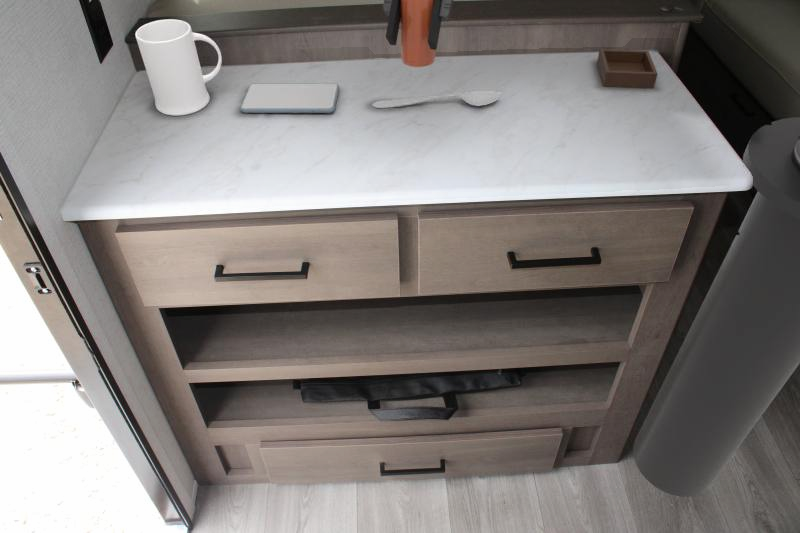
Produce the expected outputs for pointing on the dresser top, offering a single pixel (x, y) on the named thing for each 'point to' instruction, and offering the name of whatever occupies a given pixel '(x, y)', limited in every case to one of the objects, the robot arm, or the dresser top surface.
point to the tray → (626, 68)
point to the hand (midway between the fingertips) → (411, 42)
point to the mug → (175, 66)
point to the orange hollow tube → (416, 32)
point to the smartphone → (290, 98)
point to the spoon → (469, 97)
